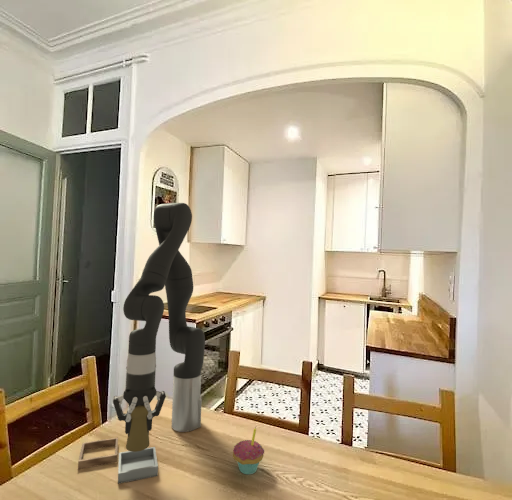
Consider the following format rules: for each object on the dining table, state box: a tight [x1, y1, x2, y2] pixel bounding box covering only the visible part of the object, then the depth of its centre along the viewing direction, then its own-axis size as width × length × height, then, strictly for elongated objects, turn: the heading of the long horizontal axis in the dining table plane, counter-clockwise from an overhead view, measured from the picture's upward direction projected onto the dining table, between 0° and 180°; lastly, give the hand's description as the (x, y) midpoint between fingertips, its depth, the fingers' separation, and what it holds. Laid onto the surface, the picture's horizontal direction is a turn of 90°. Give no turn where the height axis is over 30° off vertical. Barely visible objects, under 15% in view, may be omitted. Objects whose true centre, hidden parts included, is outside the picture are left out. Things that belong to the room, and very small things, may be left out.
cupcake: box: [232, 426, 265, 475], centre depth 92 cm, size 9×8×12 cm
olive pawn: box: [125, 405, 150, 452], centre depth 90 cm, size 6×6×11 cm
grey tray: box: [117, 446, 159, 485], centre depth 90 cm, size 10×10×2 cm
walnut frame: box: [77, 437, 119, 470], centre depth 95 cm, size 10×10×2 cm
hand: (138, 432), depth 90 cm, fingers closed on olive pawn, 4 cm apart
